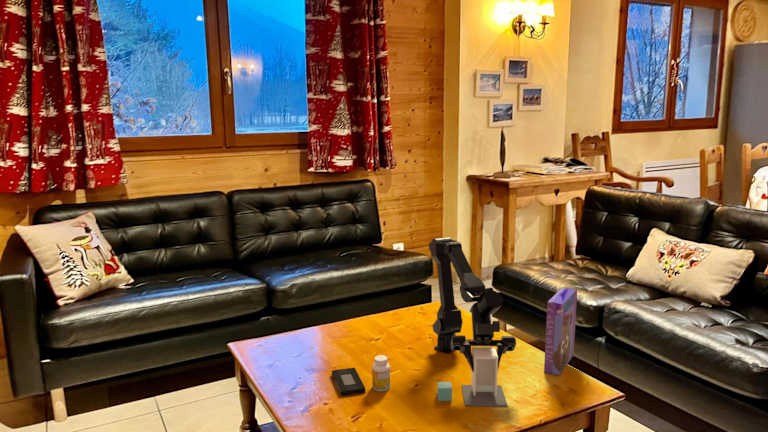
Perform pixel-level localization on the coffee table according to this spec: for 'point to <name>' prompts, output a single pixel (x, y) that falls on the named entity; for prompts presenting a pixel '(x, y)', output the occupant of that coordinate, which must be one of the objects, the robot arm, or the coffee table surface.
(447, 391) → the teal cube
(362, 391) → the vhs tape
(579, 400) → the coffee table surface
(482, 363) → the white boxy piece
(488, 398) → the mat
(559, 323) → the cereal box
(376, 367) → the supplement bottle
